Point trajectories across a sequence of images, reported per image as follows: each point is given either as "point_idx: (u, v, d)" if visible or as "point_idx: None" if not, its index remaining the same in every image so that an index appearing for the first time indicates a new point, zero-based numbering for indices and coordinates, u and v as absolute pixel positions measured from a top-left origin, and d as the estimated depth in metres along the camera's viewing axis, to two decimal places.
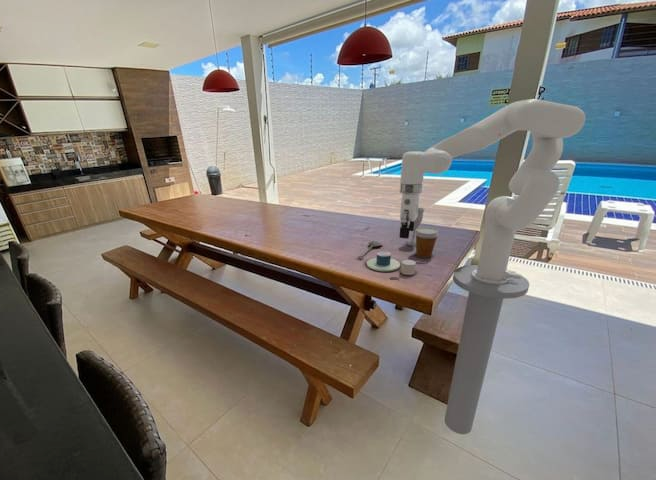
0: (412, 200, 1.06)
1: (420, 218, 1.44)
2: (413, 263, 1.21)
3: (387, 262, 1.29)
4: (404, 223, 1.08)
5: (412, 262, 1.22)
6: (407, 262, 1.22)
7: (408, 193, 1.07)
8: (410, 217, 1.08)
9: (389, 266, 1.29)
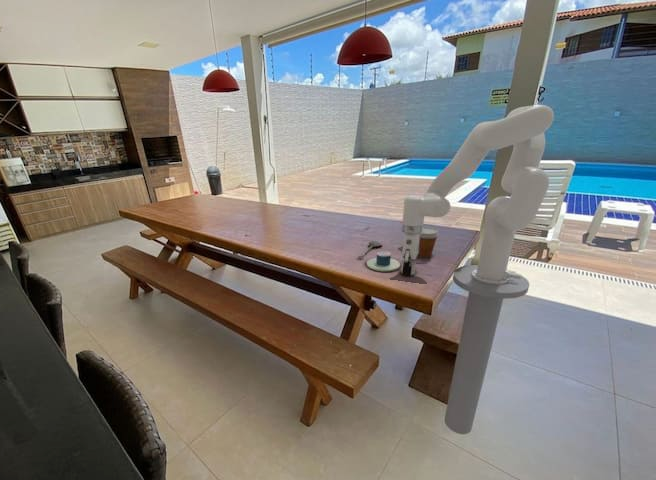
0: (413, 240, 1.14)
1: None
2: (413, 263, 1.21)
3: (387, 262, 1.29)
4: None
5: (412, 262, 1.22)
6: None
7: (410, 234, 1.14)
8: None
9: (389, 266, 1.29)
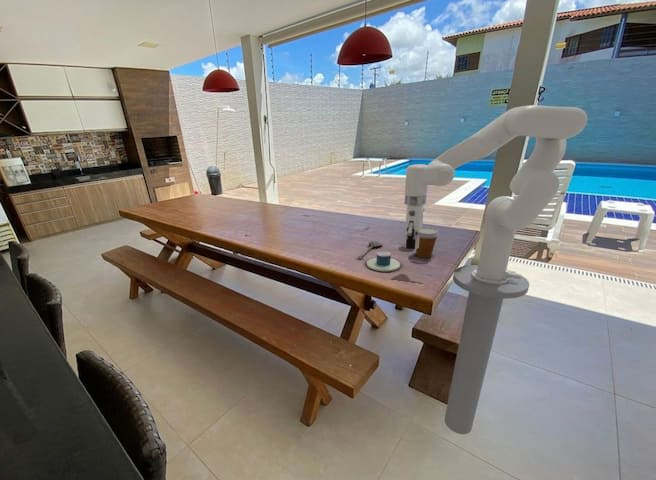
0: (417, 211, 1.09)
1: None
2: (417, 237, 1.17)
3: (387, 262, 1.29)
4: None
5: (416, 236, 1.18)
6: None
7: (413, 205, 1.10)
8: (415, 230, 1.12)
9: (389, 266, 1.29)
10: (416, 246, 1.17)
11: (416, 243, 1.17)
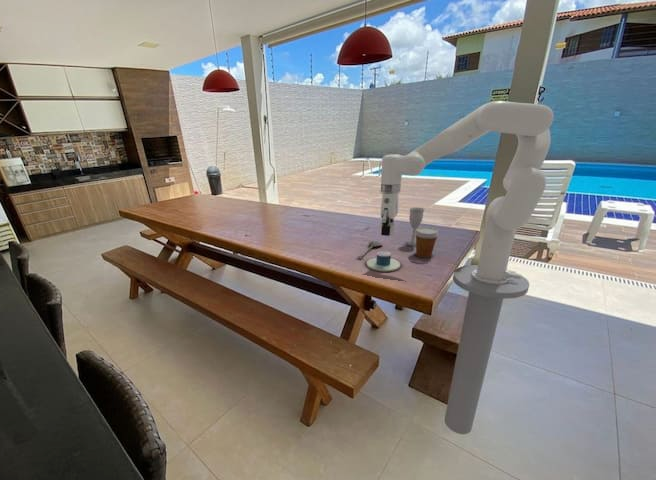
0: (391, 199, 1.16)
1: (420, 218, 1.44)
2: (392, 224, 1.23)
3: (387, 262, 1.29)
4: None
5: (391, 223, 1.24)
6: None
7: (387, 193, 1.16)
8: (389, 217, 1.19)
9: (389, 266, 1.29)
10: (391, 233, 1.24)
11: (391, 230, 1.23)
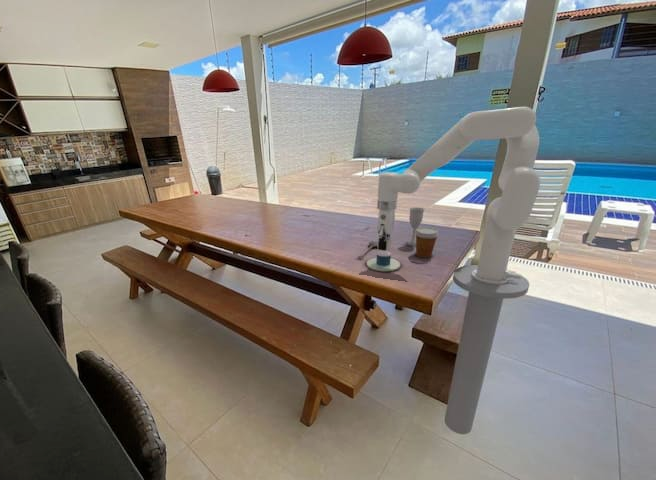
0: (387, 215, 1.19)
1: (420, 218, 1.44)
2: (388, 239, 1.27)
3: (387, 262, 1.29)
4: None
5: (387, 238, 1.27)
6: None
7: (384, 209, 1.20)
8: (386, 233, 1.22)
9: (389, 266, 1.29)
10: (387, 247, 1.27)
11: (387, 244, 1.26)
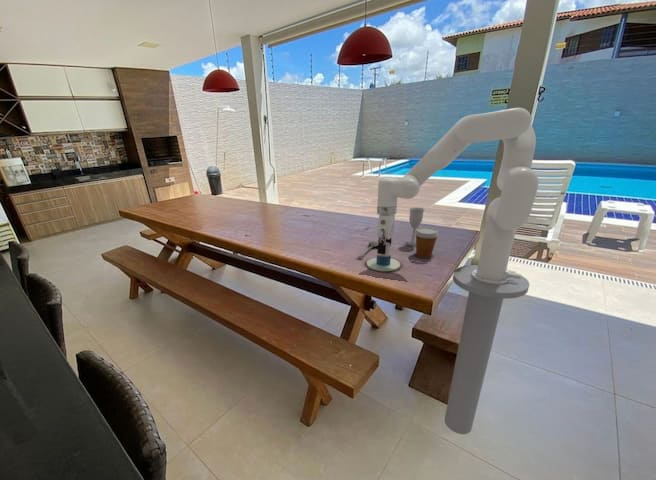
0: (387, 220, 1.20)
1: (420, 218, 1.44)
2: (388, 244, 1.28)
3: (387, 262, 1.29)
4: (380, 241, 1.21)
5: (387, 243, 1.28)
6: None
7: (384, 214, 1.20)
8: (386, 235, 1.22)
9: (389, 266, 1.29)
10: (387, 253, 1.28)
11: (387, 250, 1.27)
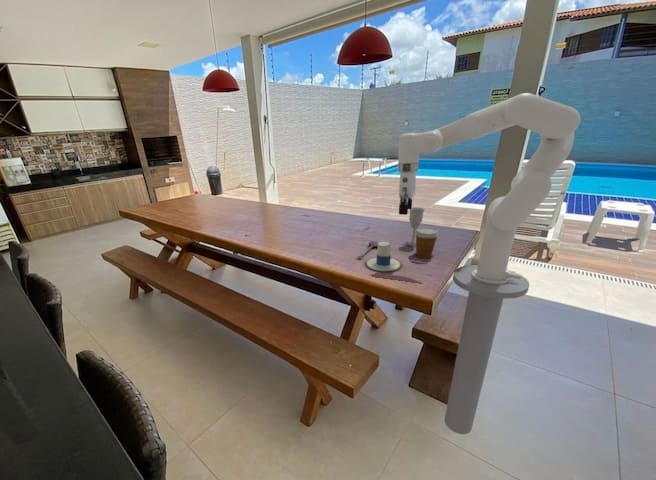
0: (409, 178, 1.15)
1: (420, 218, 1.44)
2: (388, 244, 1.28)
3: (387, 262, 1.29)
4: (403, 200, 1.16)
5: (387, 243, 1.28)
6: (382, 244, 1.28)
7: (406, 172, 1.16)
8: (408, 194, 1.17)
9: (389, 266, 1.29)
10: (387, 253, 1.28)
11: (387, 250, 1.27)
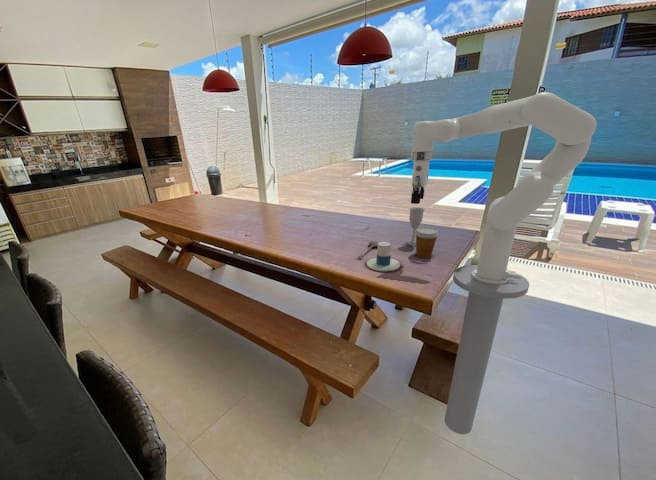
0: (423, 166, 1.15)
1: (420, 218, 1.44)
2: (388, 244, 1.28)
3: (387, 262, 1.29)
4: (416, 188, 1.16)
5: (387, 243, 1.28)
6: (382, 244, 1.28)
7: (419, 160, 1.15)
8: (421, 183, 1.17)
9: (389, 266, 1.29)
10: (387, 253, 1.28)
11: (387, 250, 1.27)
